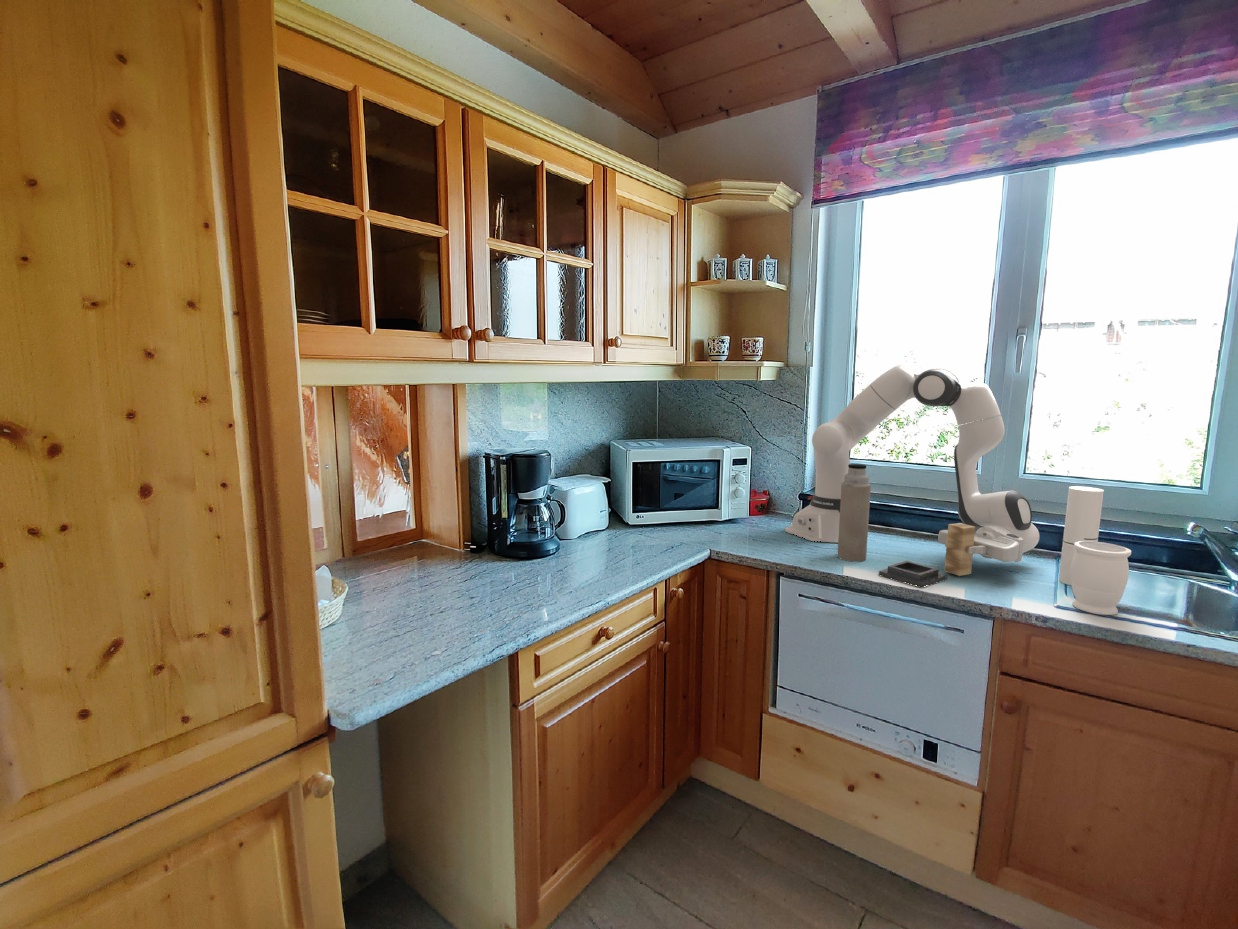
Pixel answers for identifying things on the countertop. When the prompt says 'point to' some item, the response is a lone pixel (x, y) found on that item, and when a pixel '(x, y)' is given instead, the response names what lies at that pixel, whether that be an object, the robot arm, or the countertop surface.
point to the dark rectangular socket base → (913, 573)
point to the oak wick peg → (959, 549)
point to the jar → (1099, 576)
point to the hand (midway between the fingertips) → (957, 547)
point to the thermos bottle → (854, 514)
